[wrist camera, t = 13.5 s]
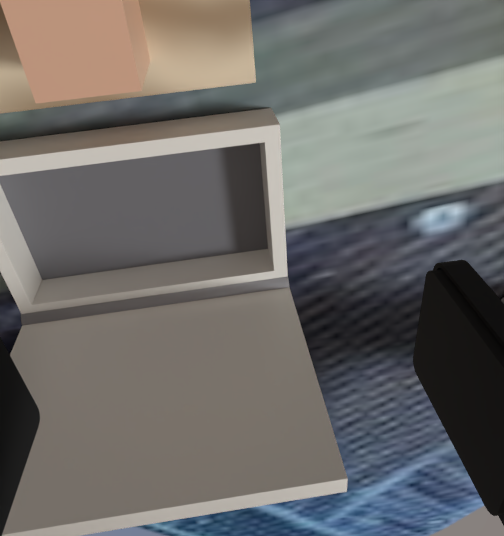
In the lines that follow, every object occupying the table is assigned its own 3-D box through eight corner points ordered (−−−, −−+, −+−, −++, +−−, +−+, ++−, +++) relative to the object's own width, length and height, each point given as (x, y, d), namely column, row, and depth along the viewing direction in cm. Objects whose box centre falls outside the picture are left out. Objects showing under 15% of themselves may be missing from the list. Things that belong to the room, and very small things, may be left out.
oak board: (254, 78, 30) (255, 82, 29) (-28, 112, 29) (-34, 117, 28) (238, -122, 24) (239, -124, 23) (-116, -87, 23) (-126, -88, 23)
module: (150, 60, 28) (141, 90, 22) (66, 70, 28) (35, 103, 22) (126, -62, 24) (108, -63, 19) (29, -52, 24) (-19, -50, 18)
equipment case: (280, 269, 39) (346, 491, 23) (29, 304, 38) (-81, 561, 22) (271, 107, 31) (360, 277, 15) (-46, 147, 30) (-299, 371, 14)
